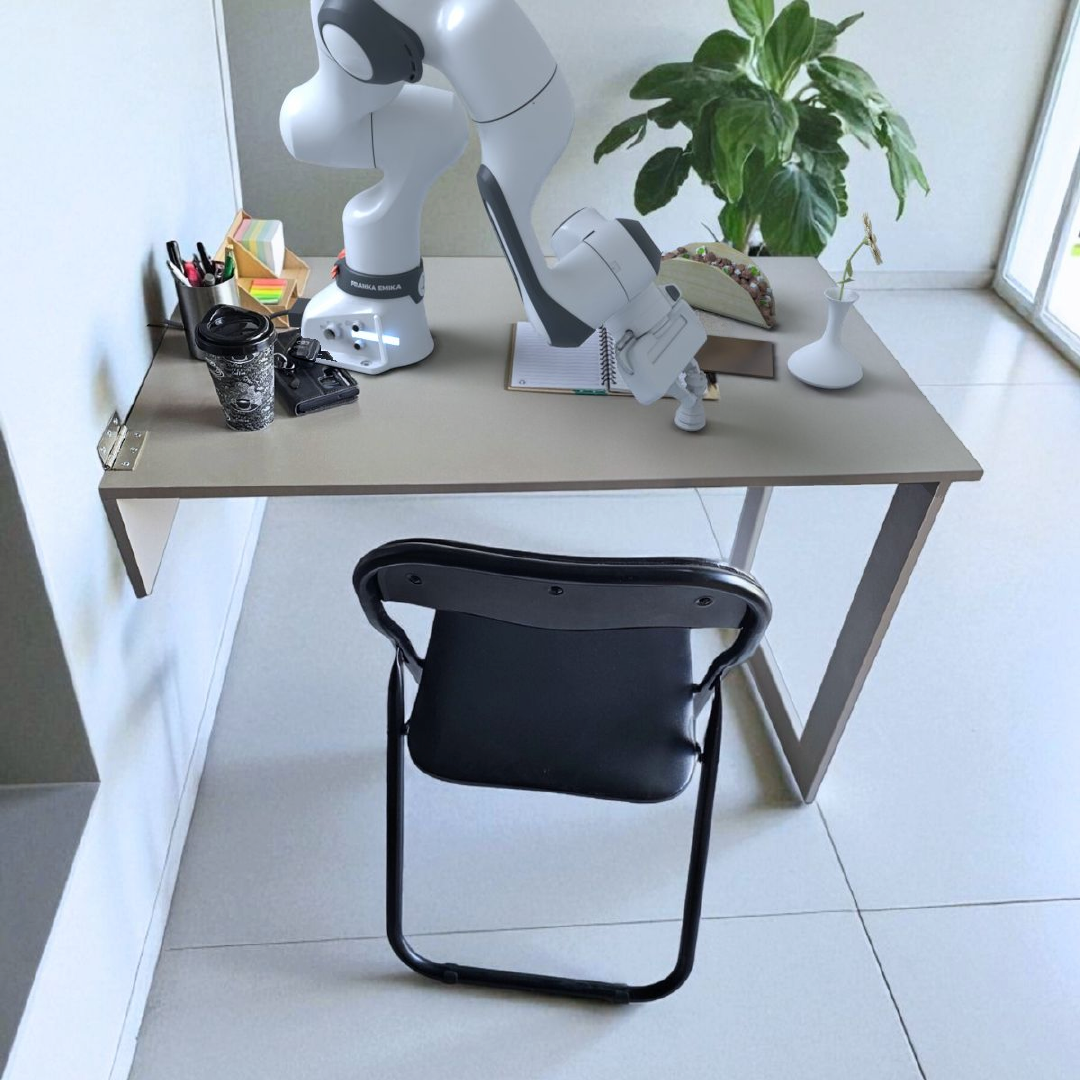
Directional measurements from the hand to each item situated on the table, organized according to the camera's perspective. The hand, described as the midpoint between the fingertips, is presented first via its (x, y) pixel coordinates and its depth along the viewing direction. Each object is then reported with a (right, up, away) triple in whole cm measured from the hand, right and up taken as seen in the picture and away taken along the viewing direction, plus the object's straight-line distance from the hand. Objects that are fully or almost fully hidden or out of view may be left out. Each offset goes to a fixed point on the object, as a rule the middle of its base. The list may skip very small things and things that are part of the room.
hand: (697, 398), depth 145 cm
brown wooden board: (+4, +10, +21) cm, 24 cm away
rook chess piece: (-1, -3, +3) cm, 5 cm away
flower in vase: (+22, +6, +17) cm, 28 cm away
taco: (+6, +20, +35) cm, 41 cm away
